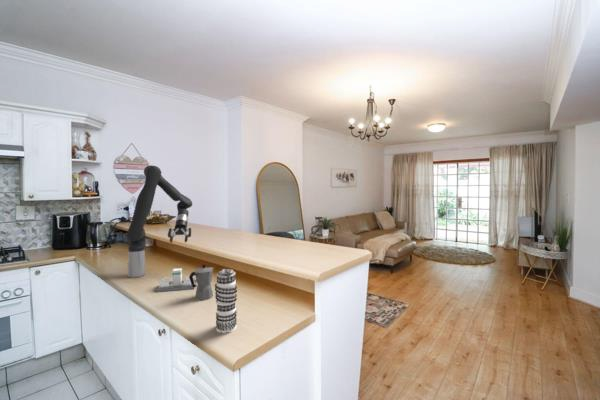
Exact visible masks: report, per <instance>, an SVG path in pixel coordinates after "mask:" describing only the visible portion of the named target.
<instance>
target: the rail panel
mask: <svg viewBox="0 0 600 400" xmlns="http://www.w3.org/2000/svg"><path fill="white" fill-rule="evenodd" d="M189 276H190V275H185V277H184V279H183V280H182V284H181V285H179V286H173V283H172V276H167V277H162V278H161V280H159V285H158V287H157V288H156V293H163V292H164V293H165V292H174V291H186V290H187V291H188V290H195V288H196V287H193V286H192V284H191V281H190V278H189ZM193 281H194V285H197V281H196V276H195V275H194V276H193Z"/></svg>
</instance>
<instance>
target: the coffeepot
mask: <svg viewBox="0 0 600 400" xmlns="http://www.w3.org/2000/svg"><path fill="white" fill-rule="evenodd" d="M201 266H202V267H200V268H197V269H195V270H194V271H192V272H191V273H190V275H188V276H189V278H190V281H191V284H192V286H193V287H195V288H196V290H195V299H196V300H197V301H207V300H210V299H212V298H213V297H214V293H213V287H212V284H211V282H212V279H213V273H214V269H215V267H214V266H213V267H211V266H210V267H206V264H202V265H201ZM193 276H194V277H195V280H196V281H197V282H196V285H194V281H193Z"/></svg>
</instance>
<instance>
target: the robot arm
mask: <svg viewBox="0 0 600 400" xmlns="http://www.w3.org/2000/svg"><path fill="white" fill-rule="evenodd" d="M143 174H144V177H145V180H144V185H143V186H142V189H141V190H140V192H139V194H138V196H137V198H136V202H135V205H134V206H135V207H134V209H133V210H134V211H133V216H132V219H131V223H130V225H129V226H128V230H127V233H126V237H127V239H128V240H129V246H128V263H127V275H128V276H127V277H128V278H132V279H133V278H140V277H145V275H146V252H145V250H146V249H145V247H146V230H145V228H144V227H145V223H146V219H147V218H148V215H149V214H150V212H151V209H152V207H153V202H154V198H155V195H156V190H157V187H160V189H161V190H162V191H163V192H164V193H165V194H166V195H167V196H168V197H169V198H170V199H171V200H173V202H177V204H176V208H177V209H176V210H177V217H176V219H175V223H174V228H171V227H170V228H169V229H168V233H167V237H168V238H169V242H170V243H171V244H173V240H174V237H176V236H184V243H187V242H188V241H189V240H188V238H191V237H192V228H191V227H189V228H188V222H189V213H190V212H189V210H188V209H189V208H191V207H192V206H193V201H192V200H191V199H190V198H189V197H188V196H186V195H184V194H183V193H181V192H180V191H179V190H178V189H177V188H176V187H175V186H174V185H172V184H171V183H170V182H169V181H168V180H166V179H165V178H164V176H163V175H162V170H161V168H160V167H159V166H157V165H151V164H150V165H147V166H145V167H144V169H143ZM187 232H188V234H187Z"/></svg>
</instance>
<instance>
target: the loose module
mask: <svg viewBox="0 0 600 400" xmlns="http://www.w3.org/2000/svg"><path fill="white" fill-rule="evenodd" d="M171 277H172V283H173V286H179V285H181V284H182V281H183V267H182V268H181V267H180V268H173V270H172V272H171Z"/></svg>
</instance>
